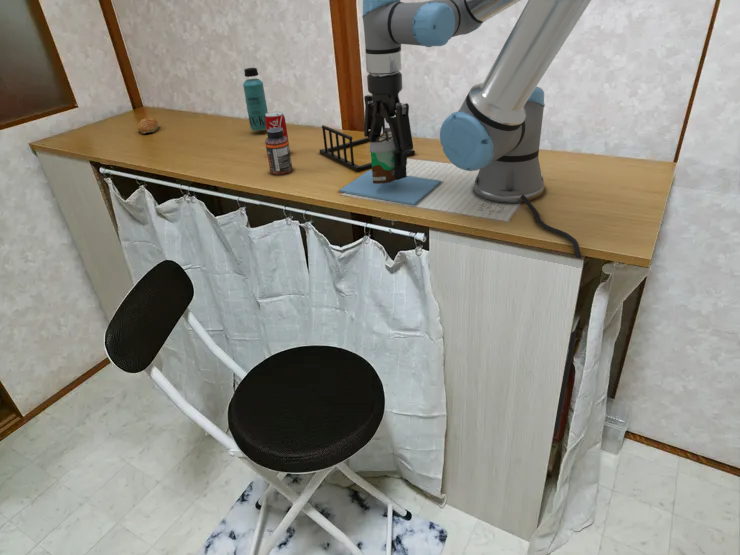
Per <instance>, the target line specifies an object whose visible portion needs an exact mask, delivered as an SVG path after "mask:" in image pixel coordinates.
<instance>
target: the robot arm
mask: <svg viewBox="0 0 740 555" xmlns="http://www.w3.org/2000/svg"><path fill="white" fill-rule="evenodd" d="M520 1H521V0H427V1H419V2H416V1H415V2H404V1H403V2H402V1H401V0H362V14H361V15H362V17H361V18H362V24H363V33H364V46H365V47H364V48H365V49H364V50H365V51H364V53H365V68H366V70H365V71H366V72H367V75H366V80H367V82H366V83H367V92H368V93H369V94H367V95H364V97H363V100H364V106H365V107H364V124H363V126H364V127H363V128H364V129H363V136H364V138H367V137H368V138H369V143H370V142H371V143H374V142H375V141H376V139H377V138H378V137H379V136H380V135H382V131H383V122H384V118H385V123H387V125H388V128H390V130H391V134H392V137H393V140H394V144H395V147H396V150H397V151H394V162H395V179H396V180H399V179H402V178H405V177H407V176H408V175H407V164H408V157H407V151H408V150H414V144H413V143H414V142H413V136H412V130H411V122H410V114H409V113H410V105H409V103H406V102H405V103H402V102H401V100H400V96H399V95H400V94H399V93H400V92H401V91H402V90H403V74H402V72H401V70H402V69H403V68H402V45H408V46H409V45H410V46H422V47H425V48H432V47H443V46H445V45H447V44H448V42H449V41H450V40H451V39H452V38H454V37H457V36H463V35H464V36H465V35H468V34H470V33H472V32H475V31H476V30H478V29H479V28H480V27H481V26H482V25H483V23H485V22H487V20H489V19H491V18H493V17H495V16H496V15H498V14H499V13H501V12H504V11H505V10H507V9H508V8H510V7H512V6H513V5H516V4H517V3H519V2H520ZM591 2H592V0H527V2H526V4H525V5H524V8H523V9H522V11H521V12H520V15H519V16H518V18H517V21H516V22H515V24H514V26H513V28H511V31H510V33H509V35H508V37H507V39H506V40H505V42H504V43H503V46H502V48H501V49H500V51H499V53H498V55H497V57H496V58H495V60H494V62H493V64H492V66H491V67H490V70H489V71H488V74H487V75H486V77H485V79H484V80H483V82H481V83H477V84H473V85H472V87H471V88H470V89H469V91H468V93H467V95H466V97H465V99H464V100H463V103H462V104H461V106H460V108H459V109H458V111H454V112H452V113H451V114H450V115H448V116H447V117H446V118H445V119H444V121H443V122H442V124H441V127H440V130H439V142H440V145H441V146H442V151H443V153H444V155H445V156H446V158H447V159H448V160H449V162H450V163H451V164H452V165H453V166H455V167H456V168H458V169H460V170H463V171H467V172H474V171H478V172H477V173H478V174H477V175H476V176H475V180H474V192H475V193H476V194H477V195H478V196H479V197H481V198H483V199H485V200H488V201H491V202H495V203H507V204H514V203H515V204H516V203H524V204H525V205H526V206H527V207H528V209H529V210H530V211H531V212H532V214H533V215H534V218H535V220H536V223H537V224H538V225H539V226H540V227H541V228H542V229H544V230H545V231H548V232H550V233H553V234H556V235H558V236H560V237H563V238H565V239H566V240H567V241H568V242H570V243H571V244H572V246H573V251H574V256H575V258H576V259H581V258H582V255H581V250H580V245H579V243H578V240H577V239H576V238H575V237H573V236H572V235H571V234H569V233H568V232H565V231H563V230H561V229H558V228H556V227H552V226H551V225H548V224H547V223H545V222H544V221H543V220H542V218H541V215H540V214H539V212H538V209H537V208H536V207H535V206H534V204H533V203H532V202H531V201H533V200H536V199H537V198H539V197H541V196H542V195H543V193H544V189H545V187H544V186H545V181H544V176H542V169H541V164H540V160H539V153H540V144H541V135H542V127H543V118H544V111H545V110H544V109H545V106H546V104H545V91H544V90H543V88H541V87H539V86H538V85H539V84H540V82H541V80H542V79H543V77H544V76H545V74H546V73H547V71H548V69H549V67H550V66H551V65H552V63H553V61H554V60H555V58H556V57H557V55H558V53H559V51H560V50H561V49H562V47H564V44H565V42H566V41H567V39H568V38H569V36H570V35H571V33H572V31H573V30H574V28H575V27H576V25H577V23H578V22H579V21H580V19H581V18H582V16H583V14H584V13H585V11H586V9H587V8H588V7H589V5H590V4H591ZM390 117H393V118H390ZM400 145H401V147H400ZM576 337H577V329H574V330H573V331H571V333H570V338H569V344H568V349H567V350H568V351H567V355H566V361H565V366H564V373H563V378H562V382H561V388H560V394H559V400H558V405H557V412H556V419H555V423H554V431H555V432H559V430H560V426H561V420H562V414H563V408H564V402H565V397H566V391H567V386H568V381H569V377H570V376H569V375H570V370H571V366H572V360H573V354H574V350H575V349H574V348H575V342H576Z"/></svg>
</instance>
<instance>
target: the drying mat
mask: <svg viewBox="0 0 740 555" xmlns="http://www.w3.org/2000/svg"><path fill="white" fill-rule="evenodd" d="M439 184H441V180H437V179H431V178H425V177H419V176H418V177H417V176H412V175H407V177H405V178H402V179H399V180H395V181H392V182H389V183H381V184H373V176H372V169H368V170H367V171H366V172H364V173H363V174H362V175H359V176H358V177H357V178H355V179H354V180H353V181H351V182H350V183H348V184H346V185H345V186H342V188H340V189H339V192H340V193H345V194H349V195H356V196H362V197H367V198H370V199H371V198H372V199H378V200H382V201H388V202H389V201H390V202H394V203H400V204H405V205H411V206H415V205H416V204H417V203H419V202H420V201H421V200H423V198H424V197H425V196H427V195H428V194H429V193H431V191H432V190H434V189H435V188H437V186H439Z"/></svg>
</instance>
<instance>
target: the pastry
mask: <svg viewBox="0 0 740 555" xmlns="http://www.w3.org/2000/svg"><path fill="white" fill-rule="evenodd" d="M137 129H138V131H139V132H140V133H141V134H143V135H145V134H146V133H155V132H156V131H158V129H159V122H158V121H157V119H155V118H153V117H150V116H146V117H144V118H142V119H141V120H140V121H139V123H138V125H137Z"/></svg>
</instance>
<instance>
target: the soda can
mask: <svg viewBox="0 0 740 555" xmlns="http://www.w3.org/2000/svg"><path fill="white" fill-rule="evenodd" d="M265 123H266V129H265V130H266V131H267V130H268V129H271V128H282V130H283V135H284V136H286V137H287V139H288V143H289V144H290V141H289V135H288V130H287V123H286V117H285V115H284V112H283V111H280V110H275V111H274V110H273V111H269V112H268V113H266V114H265ZM289 150H290V151H291V149H290V147H289Z"/></svg>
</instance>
